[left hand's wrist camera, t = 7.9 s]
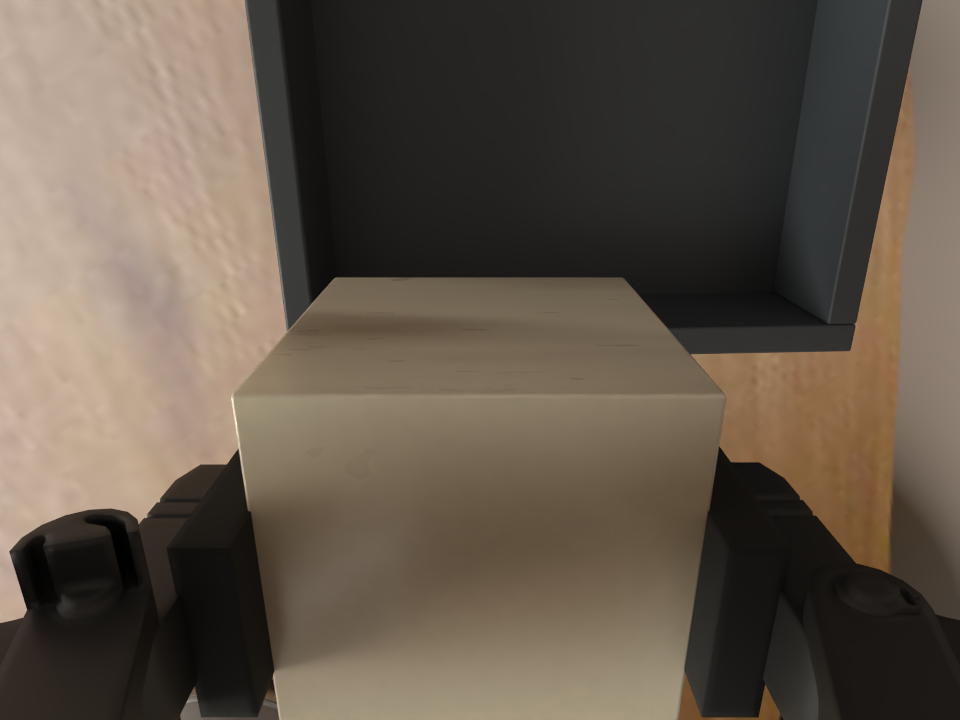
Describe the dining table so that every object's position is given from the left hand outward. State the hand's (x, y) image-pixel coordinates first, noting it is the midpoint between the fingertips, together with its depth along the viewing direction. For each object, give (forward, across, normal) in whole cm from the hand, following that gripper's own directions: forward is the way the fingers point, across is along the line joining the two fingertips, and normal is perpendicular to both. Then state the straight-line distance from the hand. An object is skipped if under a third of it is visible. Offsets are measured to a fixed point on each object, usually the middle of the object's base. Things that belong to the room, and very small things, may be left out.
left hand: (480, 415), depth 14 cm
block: (0, 0, 0) cm, 0 cm away
